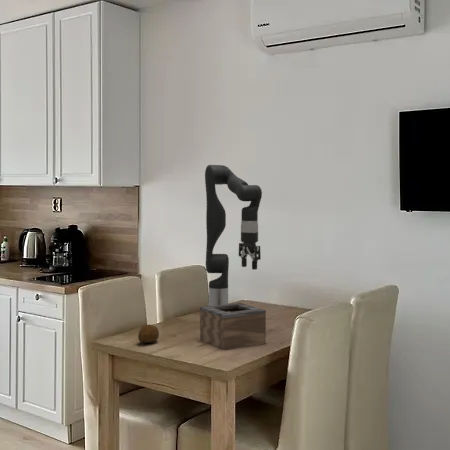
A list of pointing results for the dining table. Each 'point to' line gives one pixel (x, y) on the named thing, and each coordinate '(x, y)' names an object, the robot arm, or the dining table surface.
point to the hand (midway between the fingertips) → (249, 268)
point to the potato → (148, 334)
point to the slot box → (232, 325)
